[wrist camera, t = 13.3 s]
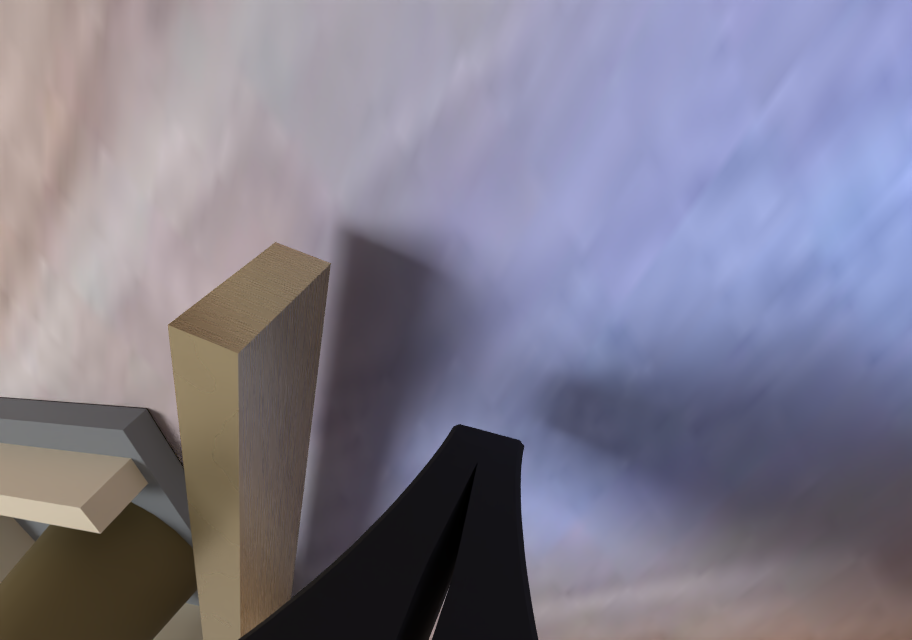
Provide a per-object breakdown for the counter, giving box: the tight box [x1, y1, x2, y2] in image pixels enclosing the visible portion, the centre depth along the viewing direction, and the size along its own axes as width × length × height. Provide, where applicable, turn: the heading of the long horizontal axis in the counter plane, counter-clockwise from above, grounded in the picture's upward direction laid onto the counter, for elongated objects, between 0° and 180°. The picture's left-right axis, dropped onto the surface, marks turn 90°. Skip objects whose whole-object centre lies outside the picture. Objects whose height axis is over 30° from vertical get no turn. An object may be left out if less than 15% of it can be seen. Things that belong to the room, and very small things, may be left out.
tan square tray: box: [0, 398, 203, 640], centre depth 22 cm, size 13×13×3 cm
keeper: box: [168, 242, 331, 640], centre depth 16 cm, size 21×2×3 cm, turn 166°
